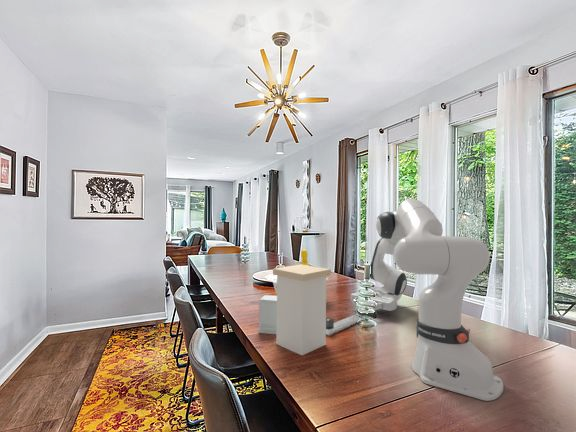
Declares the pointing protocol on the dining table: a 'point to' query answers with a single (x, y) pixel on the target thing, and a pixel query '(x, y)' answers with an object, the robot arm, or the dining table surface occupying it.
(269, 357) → the dining table surface
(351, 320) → the aluminium bar
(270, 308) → the supplement box
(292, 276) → the pedestal
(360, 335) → the dining table surface
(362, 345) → the dining table surface
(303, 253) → the figure statuette
